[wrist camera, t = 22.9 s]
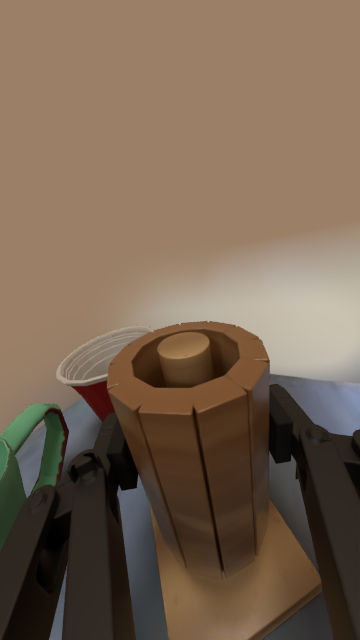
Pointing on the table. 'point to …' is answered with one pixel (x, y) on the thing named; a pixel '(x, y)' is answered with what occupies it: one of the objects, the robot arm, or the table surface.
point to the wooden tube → (200, 445)
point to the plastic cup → (97, 367)
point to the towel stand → (227, 595)
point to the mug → (3, 470)
